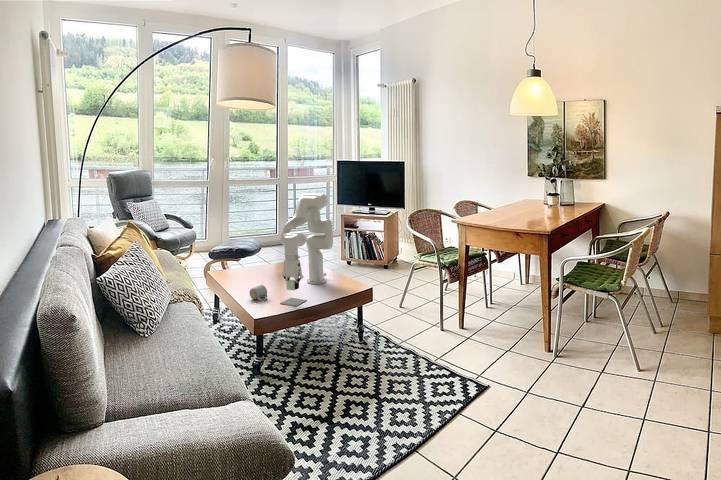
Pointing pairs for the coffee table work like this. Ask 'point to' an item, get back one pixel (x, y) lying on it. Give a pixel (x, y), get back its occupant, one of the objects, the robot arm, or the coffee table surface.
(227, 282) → the coffee table surface
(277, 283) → the coffee table surface
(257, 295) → the ceramic mug
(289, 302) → the coaster
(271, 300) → the coffee table surface
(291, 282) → the cube
